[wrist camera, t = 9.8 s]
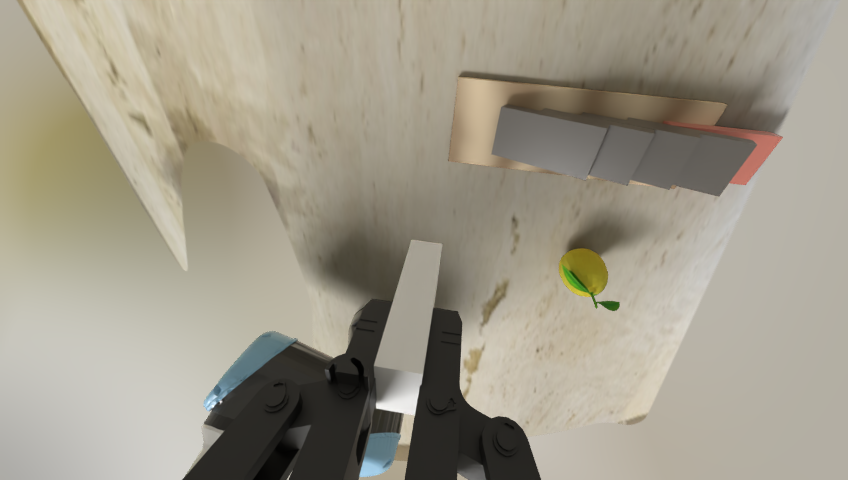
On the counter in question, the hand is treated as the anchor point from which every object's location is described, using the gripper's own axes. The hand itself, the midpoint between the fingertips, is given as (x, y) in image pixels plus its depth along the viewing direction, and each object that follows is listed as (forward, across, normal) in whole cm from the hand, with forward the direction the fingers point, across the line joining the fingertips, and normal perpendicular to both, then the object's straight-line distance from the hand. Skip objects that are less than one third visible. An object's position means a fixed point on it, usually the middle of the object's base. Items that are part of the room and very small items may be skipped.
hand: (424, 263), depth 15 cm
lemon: (+25, +19, -15) cm, 35 cm away
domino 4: (+23, +17, +1) cm, 28 cm away
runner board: (+24, +13, +1) cm, 28 cm away
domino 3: (+23, +13, +1) cm, 26 cm away
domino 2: (+23, +9, +1) cm, 25 cm away
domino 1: (+23, +5, +1) cm, 23 cm away
